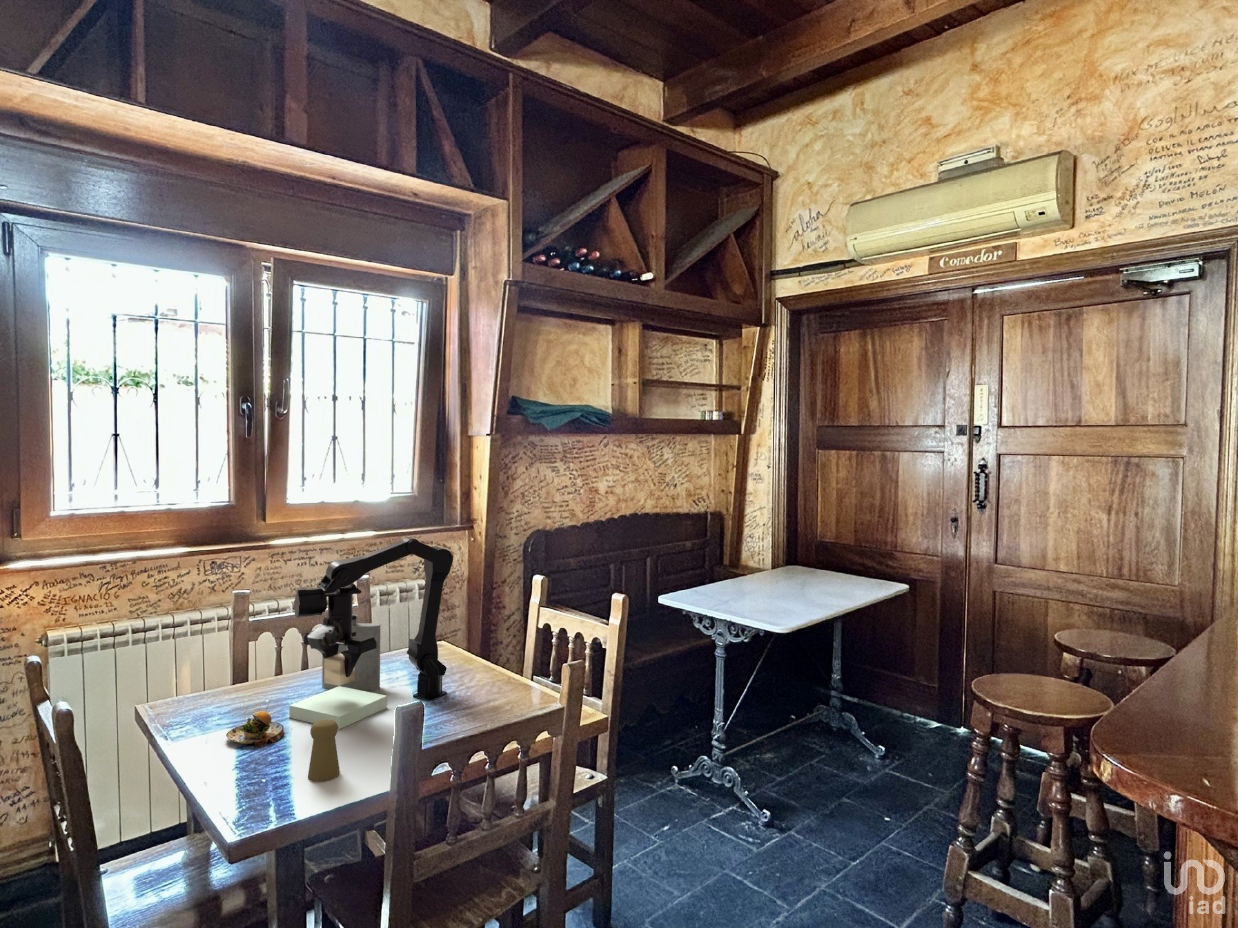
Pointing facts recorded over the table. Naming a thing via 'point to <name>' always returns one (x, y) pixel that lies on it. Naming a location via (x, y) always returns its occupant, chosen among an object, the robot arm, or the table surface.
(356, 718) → the plinth
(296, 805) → the table surface
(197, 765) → the table surface
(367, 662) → the hip flask
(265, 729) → the burger
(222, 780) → the table surface
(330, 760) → the cork
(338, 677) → the birch block
